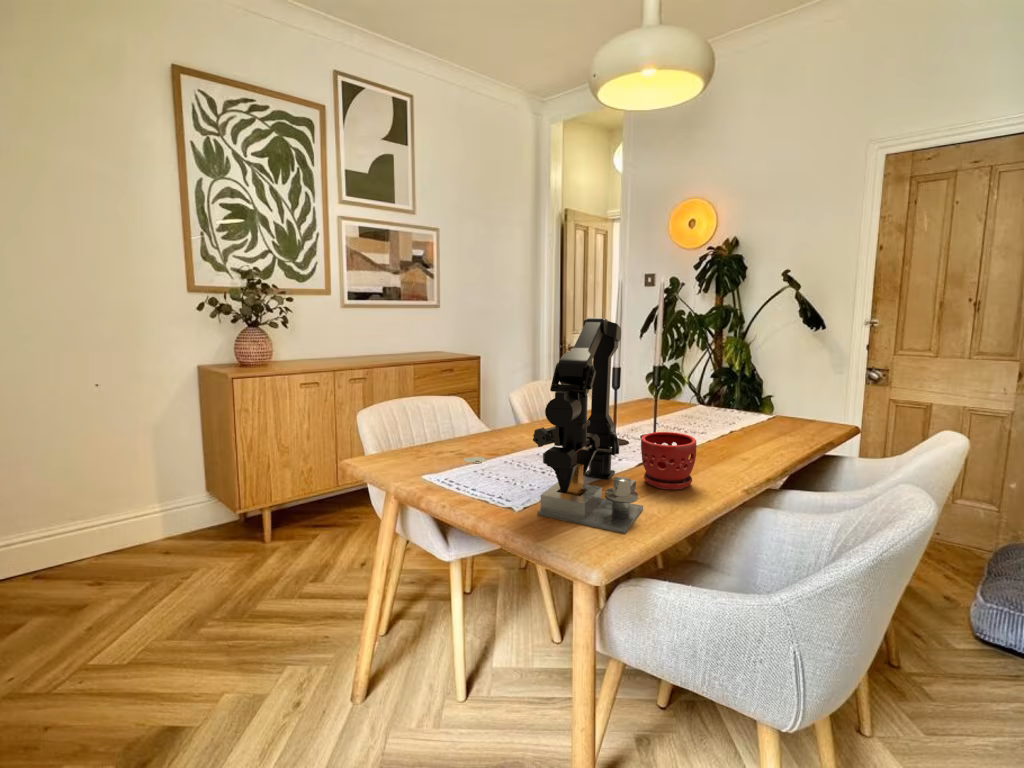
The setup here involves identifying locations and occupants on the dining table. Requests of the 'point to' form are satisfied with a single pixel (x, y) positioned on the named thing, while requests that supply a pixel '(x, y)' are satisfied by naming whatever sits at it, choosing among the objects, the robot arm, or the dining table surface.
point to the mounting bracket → (475, 460)
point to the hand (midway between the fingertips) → (572, 486)
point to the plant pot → (668, 459)
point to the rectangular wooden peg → (576, 482)
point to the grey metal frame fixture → (594, 505)
